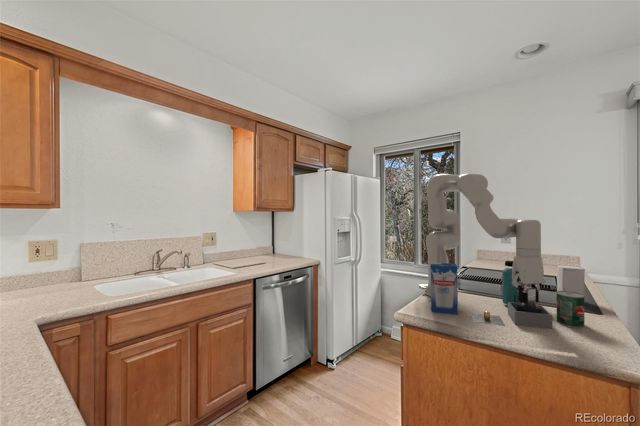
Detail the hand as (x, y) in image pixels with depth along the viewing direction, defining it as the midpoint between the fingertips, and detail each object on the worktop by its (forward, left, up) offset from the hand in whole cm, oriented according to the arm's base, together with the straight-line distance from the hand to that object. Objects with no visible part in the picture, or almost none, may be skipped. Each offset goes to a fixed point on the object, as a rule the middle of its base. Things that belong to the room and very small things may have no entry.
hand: (528, 301), depth 106 cm
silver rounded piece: (0, 0, -5) cm, 5 cm away
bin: (0, 0, -8) cm, 8 cm away
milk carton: (-29, +1, -8) cm, 30 cm away
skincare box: (+25, +37, -8) cm, 45 cm away
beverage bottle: (-2, +18, -8) cm, 20 cm away
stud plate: (-14, -3, -8) cm, 16 cm away
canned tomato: (+14, +5, -8) cm, 17 cm away
